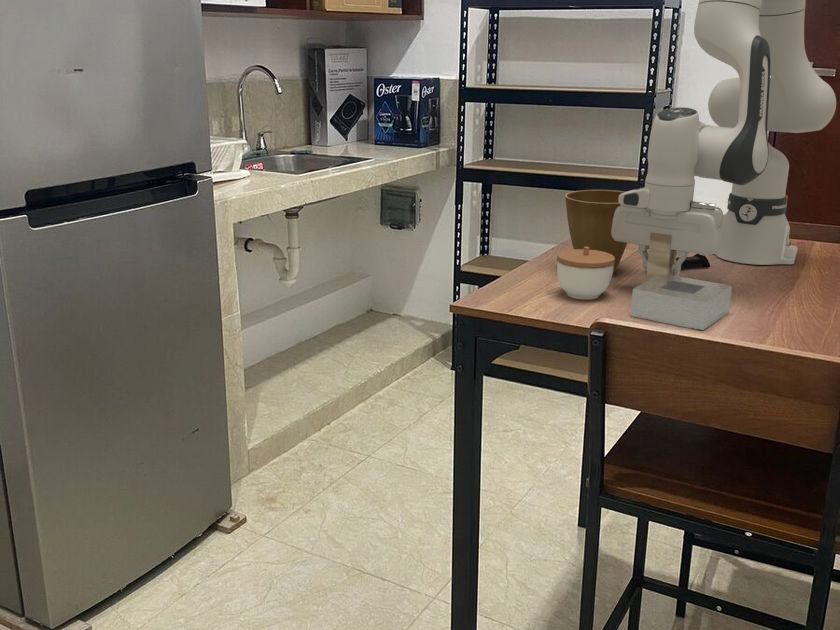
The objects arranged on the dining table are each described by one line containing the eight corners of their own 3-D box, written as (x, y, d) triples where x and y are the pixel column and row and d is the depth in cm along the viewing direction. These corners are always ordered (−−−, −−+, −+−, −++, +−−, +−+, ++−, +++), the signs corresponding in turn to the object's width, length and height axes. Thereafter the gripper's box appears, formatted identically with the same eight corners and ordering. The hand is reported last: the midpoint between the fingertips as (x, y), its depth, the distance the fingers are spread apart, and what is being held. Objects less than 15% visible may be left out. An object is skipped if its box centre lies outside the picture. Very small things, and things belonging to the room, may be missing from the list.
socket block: (659, 299, 159) (661, 273, 157) (728, 312, 152) (732, 285, 150) (630, 315, 149) (632, 288, 148) (703, 331, 142) (706, 302, 140)
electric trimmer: (640, 272, 179) (641, 258, 178) (699, 265, 185) (701, 251, 184) (651, 277, 176) (653, 262, 175) (711, 269, 181) (712, 255, 180)
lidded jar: (599, 306, 154) (603, 256, 151) (545, 297, 160) (548, 248, 157) (619, 293, 163) (624, 245, 160) (568, 284, 168) (571, 238, 165)
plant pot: (576, 258, 188) (581, 187, 183) (642, 268, 180) (649, 193, 176) (549, 273, 176) (553, 197, 171) (618, 284, 169) (624, 204, 164)
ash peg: (652, 289, 165) (658, 229, 161) (672, 293, 163) (679, 232, 159) (644, 294, 162) (650, 232, 158) (664, 297, 160) (671, 235, 156)
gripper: (730, 202, 153) (721, 276, 157) (624, 190, 165) (619, 259, 169) (718, 207, 148) (709, 283, 153) (610, 194, 160) (605, 265, 164)
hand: (661, 270), depth 161 cm, fingers closed on ash peg, 4 cm apart
